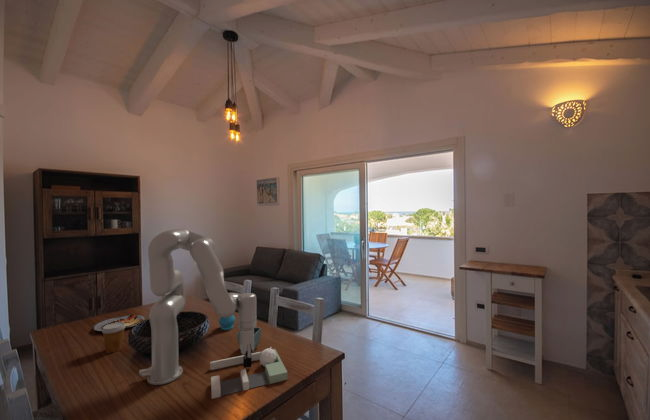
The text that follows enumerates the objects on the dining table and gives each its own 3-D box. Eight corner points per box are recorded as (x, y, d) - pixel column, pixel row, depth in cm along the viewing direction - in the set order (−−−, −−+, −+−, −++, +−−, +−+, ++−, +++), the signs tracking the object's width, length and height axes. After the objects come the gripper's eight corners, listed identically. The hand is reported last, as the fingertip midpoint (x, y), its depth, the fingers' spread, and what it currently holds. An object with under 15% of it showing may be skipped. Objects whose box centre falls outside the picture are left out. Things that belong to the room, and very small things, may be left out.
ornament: (256, 364, 123) (262, 345, 127) (272, 369, 124) (278, 350, 128) (257, 364, 117) (264, 343, 122) (274, 369, 118) (280, 348, 123)
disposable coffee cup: (129, 344, 144) (129, 320, 144) (120, 353, 135) (120, 328, 135) (107, 346, 141) (107, 322, 142) (97, 356, 132) (97, 330, 132)
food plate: (142, 315, 185) (142, 310, 185) (148, 326, 167) (148, 320, 167) (93, 325, 169) (93, 319, 169) (94, 338, 151) (94, 332, 151)
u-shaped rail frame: (211, 398, 101) (211, 390, 101) (210, 368, 120) (210, 361, 120) (287, 379, 112) (287, 372, 112) (275, 355, 131) (275, 348, 131)
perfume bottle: (238, 326, 165) (238, 300, 165) (225, 332, 157) (225, 305, 157) (228, 323, 170) (228, 298, 170) (215, 328, 162) (215, 302, 162)
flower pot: (254, 354, 132) (253, 335, 132) (236, 352, 134) (236, 333, 134) (261, 345, 141) (261, 327, 141) (245, 344, 143) (245, 326, 143)
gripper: (236, 318, 126) (236, 359, 125) (240, 331, 112) (240, 377, 112) (253, 316, 129) (253, 356, 128) (259, 328, 115) (259, 373, 115)
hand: (247, 366), depth 120 cm, fingers closed
